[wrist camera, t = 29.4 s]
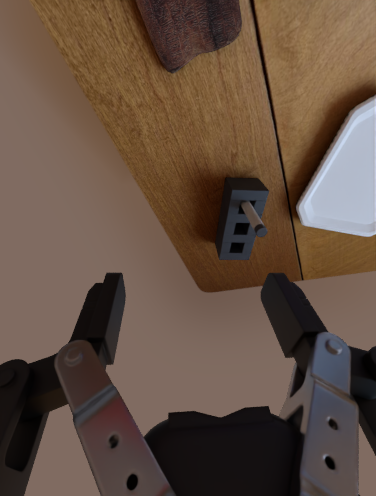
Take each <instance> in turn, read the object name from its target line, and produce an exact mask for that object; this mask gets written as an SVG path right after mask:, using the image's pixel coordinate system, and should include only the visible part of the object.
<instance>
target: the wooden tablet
mask: <svg viewBox="0 0 376 496" xmlns="http://www.w3.org/2000/svg"><path fill="white" fill-rule="evenodd" d="M136 3H137V5H138V8H139V10H140V13H141V16H142V18H143V21H144V23H145V26H146V28H147V31H148V33H149V36H150V38H151V40H152V43H153V45H154V47H155V50H156V52H157V54H158V56H159V58H160V60H161V62H162V64H163V65H164V67H165V68H166V70H167V71H168V72H171V73H175V72H177V71H178V70H179V69H181V68H182V67H183V66H184V65H186V64H187V63H188V62H189V61H190V60H192V59H193V58H194V57H195V56H197V55H198V54H201V53H207V52H212V51H215V50H218V49H220V48H222V47H224V46H226V45H228V44H230V43H231V42H233V41H234V40H235V39H236V38H237V37H238V36H239V32H240V31H241V24H242V20H241V12H240V5H239V0H136Z"/></svg>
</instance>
